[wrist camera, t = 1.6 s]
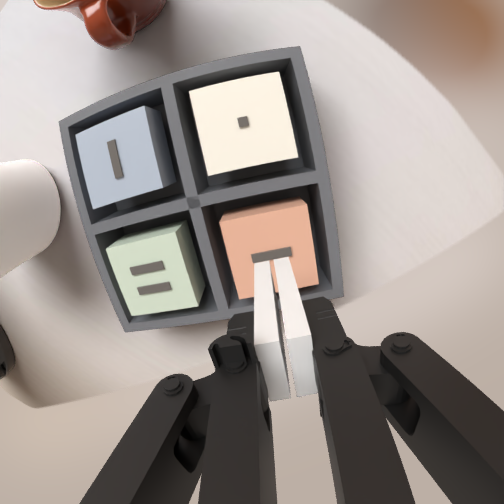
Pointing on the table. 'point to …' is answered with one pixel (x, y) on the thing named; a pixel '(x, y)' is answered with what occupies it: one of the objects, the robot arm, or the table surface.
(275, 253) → the terracotta key
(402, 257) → the table surface
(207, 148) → the cream key
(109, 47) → the mug
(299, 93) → the grey compartment tray
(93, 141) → the slate key
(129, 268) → the sage key
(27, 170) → the cup
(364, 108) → the table surface
